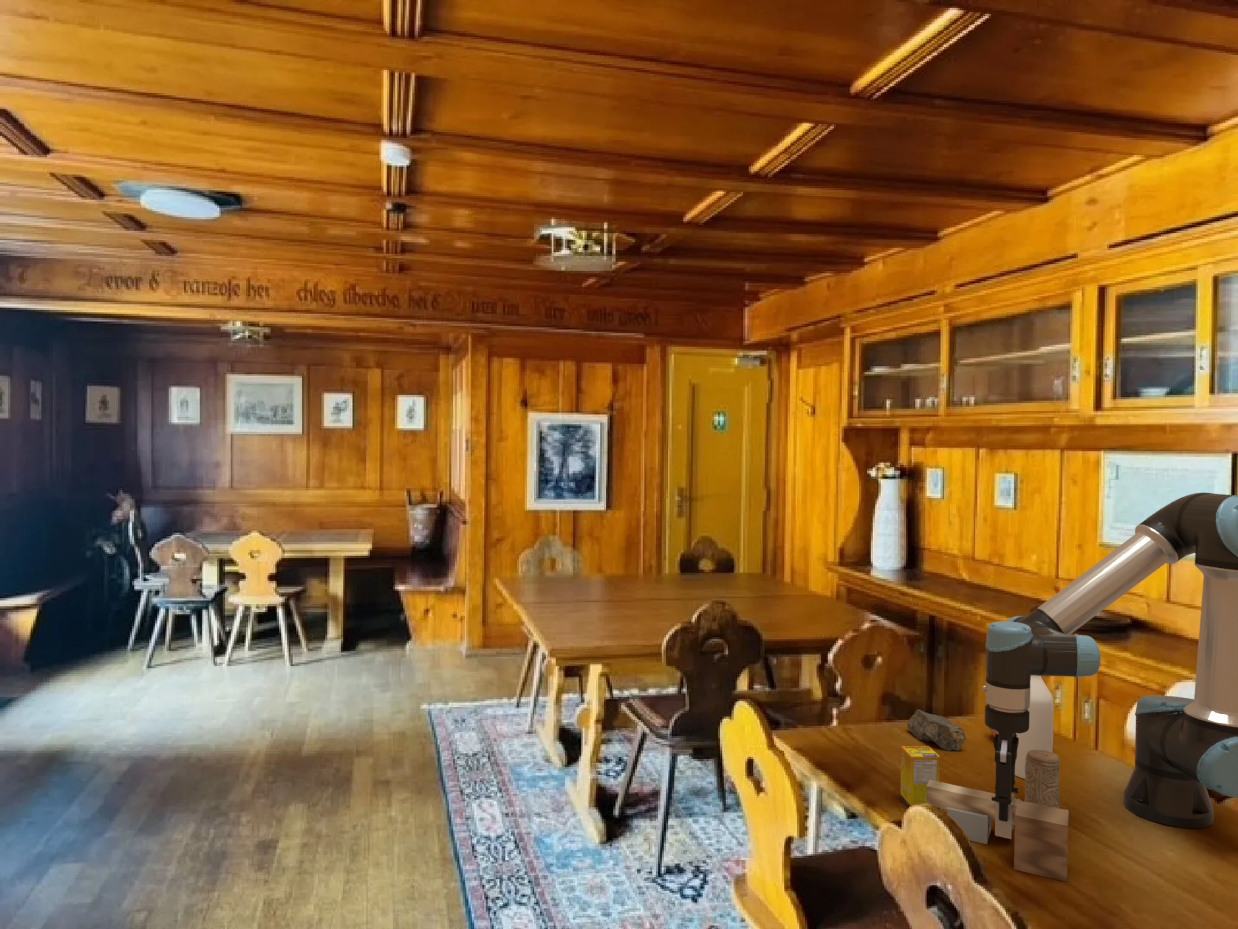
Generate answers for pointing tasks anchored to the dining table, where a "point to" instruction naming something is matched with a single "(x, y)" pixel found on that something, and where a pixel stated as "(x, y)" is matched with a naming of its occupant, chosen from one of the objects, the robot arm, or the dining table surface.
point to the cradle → (972, 824)
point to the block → (1041, 840)
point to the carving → (1042, 778)
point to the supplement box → (917, 772)
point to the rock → (936, 730)
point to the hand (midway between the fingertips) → (1004, 831)
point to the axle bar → (964, 799)
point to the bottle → (1036, 724)
